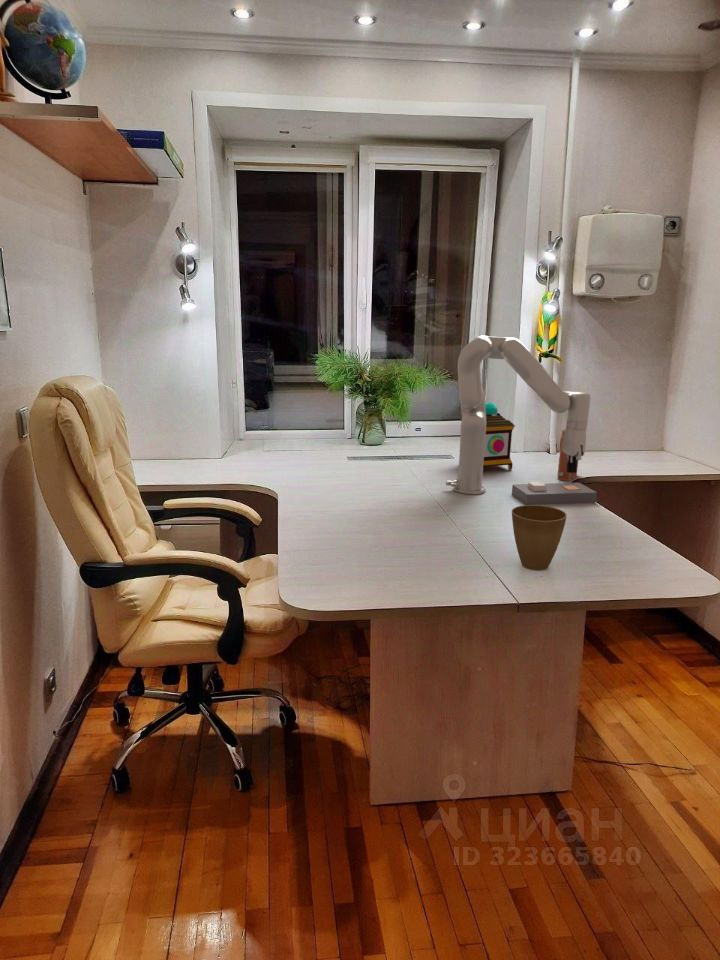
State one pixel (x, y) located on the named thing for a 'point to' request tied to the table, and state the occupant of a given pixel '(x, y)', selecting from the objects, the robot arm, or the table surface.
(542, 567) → the plant pot
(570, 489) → the orange key
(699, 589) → the table surface
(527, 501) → the keypad housing
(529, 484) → the ivory key
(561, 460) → the orange box
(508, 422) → the decorative lantern
